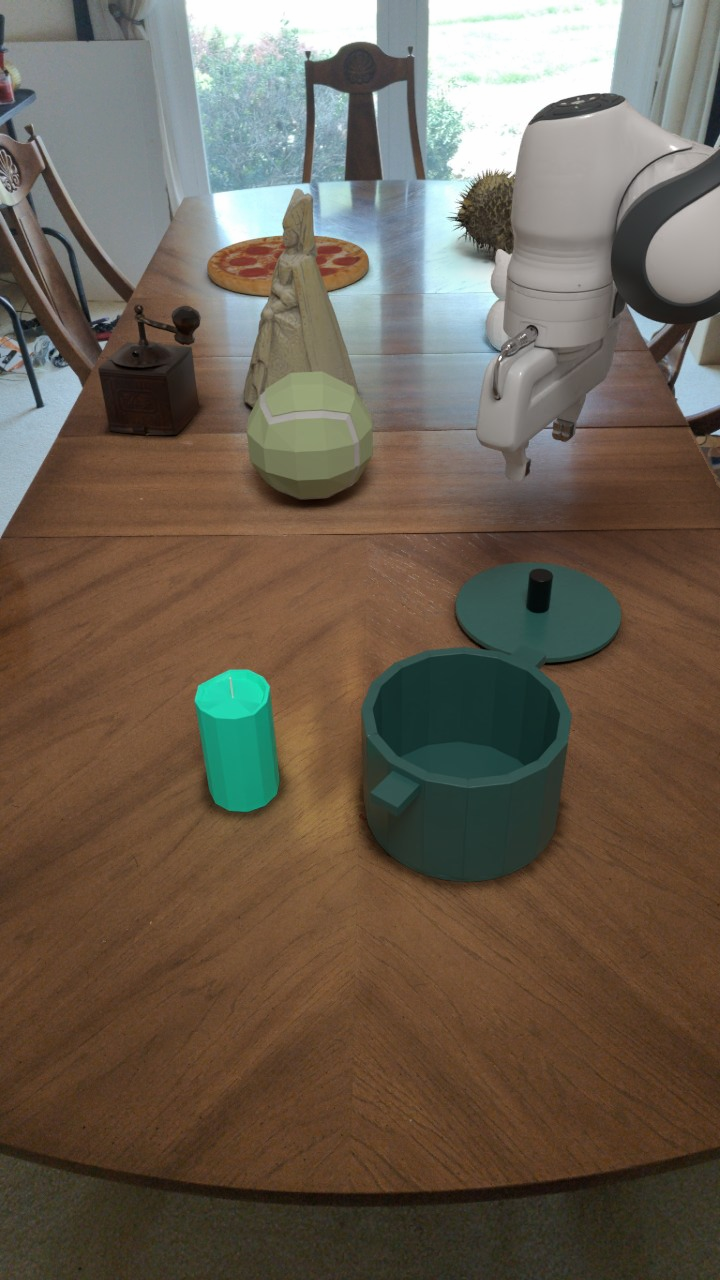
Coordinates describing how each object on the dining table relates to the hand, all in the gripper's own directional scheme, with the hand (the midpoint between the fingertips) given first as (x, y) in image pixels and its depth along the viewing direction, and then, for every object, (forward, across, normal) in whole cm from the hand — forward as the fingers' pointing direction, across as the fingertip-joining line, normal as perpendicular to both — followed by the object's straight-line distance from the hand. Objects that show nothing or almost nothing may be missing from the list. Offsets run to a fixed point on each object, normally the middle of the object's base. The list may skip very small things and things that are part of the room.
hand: (540, 457), depth 92 cm
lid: (+17, 0, -2) cm, 17 cm away
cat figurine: (+18, +64, +36) cm, 76 cm away
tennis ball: (+18, +8, +34) cm, 39 cm away
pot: (+18, -28, -8) cm, 34 cm away
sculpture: (+18, +30, +53) cm, 64 cm away
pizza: (+18, +76, +92) cm, 121 cm away
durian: (+18, +106, +60) cm, 124 cm away
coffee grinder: (+18, +13, +64) cm, 68 cm away
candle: (+18, -36, +8) cm, 41 cm away
